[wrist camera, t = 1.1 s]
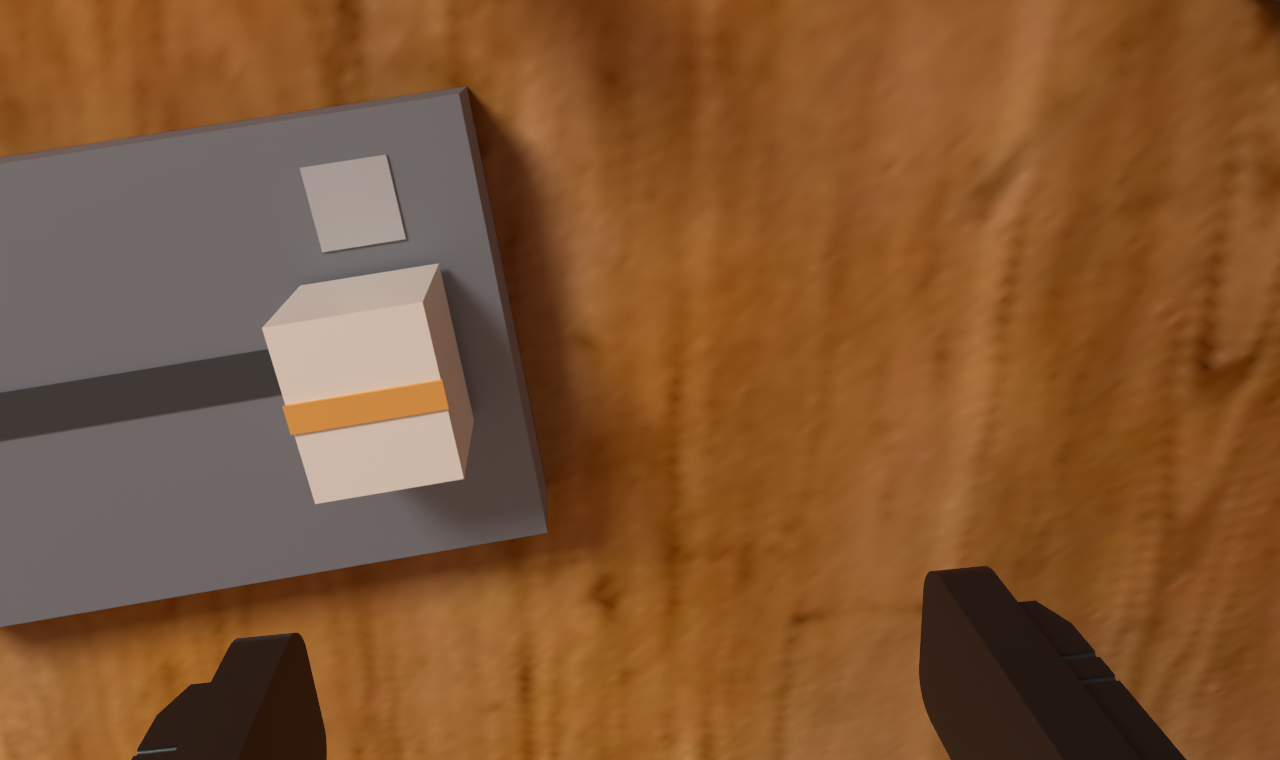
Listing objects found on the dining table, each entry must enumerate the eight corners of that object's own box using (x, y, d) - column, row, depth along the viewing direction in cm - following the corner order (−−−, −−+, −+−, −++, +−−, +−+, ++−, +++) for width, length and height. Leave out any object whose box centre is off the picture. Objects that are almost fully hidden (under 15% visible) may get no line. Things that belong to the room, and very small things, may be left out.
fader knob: (440, 263, 27) (423, 303, 24) (475, 419, 29) (465, 480, 25) (298, 285, 27) (258, 329, 23) (342, 442, 29) (312, 506, 25)
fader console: (466, 86, 29) (458, 94, 26) (547, 490, 34) (547, 534, 31) (-240, 194, 28) (-329, 215, 25) (-48, 591, 33) (-104, 646, 30)
